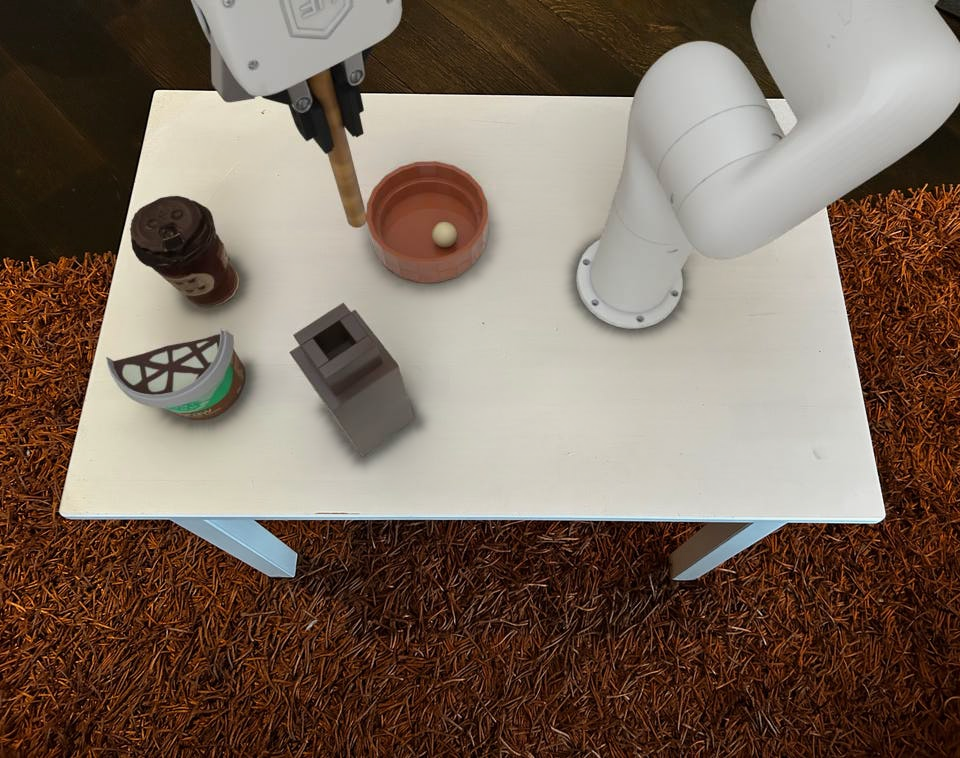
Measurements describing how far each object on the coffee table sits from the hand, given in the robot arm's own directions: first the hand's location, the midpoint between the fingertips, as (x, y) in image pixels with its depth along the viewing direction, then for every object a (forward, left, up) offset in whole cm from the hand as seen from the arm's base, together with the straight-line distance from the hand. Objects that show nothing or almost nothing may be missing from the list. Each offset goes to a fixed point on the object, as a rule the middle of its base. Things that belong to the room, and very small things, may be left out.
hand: (333, 129), depth 43 cm
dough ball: (-13, -7, -32) cm, 35 cm away
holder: (+7, +6, -34) cm, 35 cm away
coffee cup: (+13, -19, -35) cm, 42 cm away
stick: (0, 0, -11) cm, 11 cm away
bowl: (-12, -9, -34) cm, 37 cm away
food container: (+21, -6, -35) cm, 41 cm away
